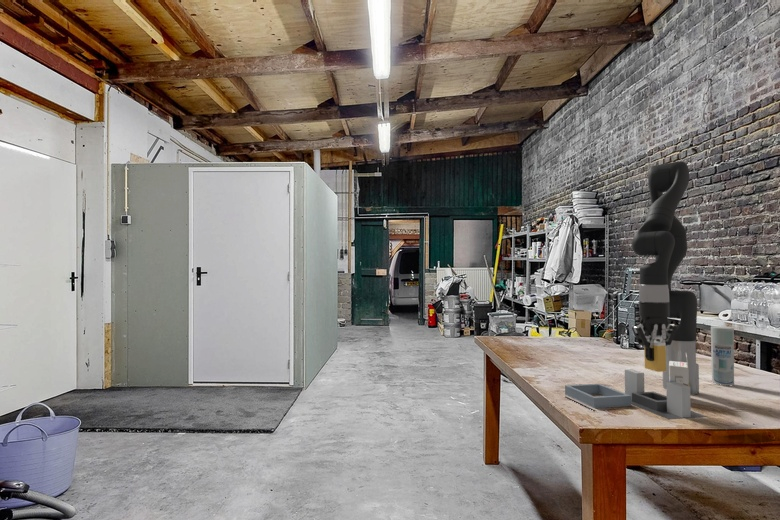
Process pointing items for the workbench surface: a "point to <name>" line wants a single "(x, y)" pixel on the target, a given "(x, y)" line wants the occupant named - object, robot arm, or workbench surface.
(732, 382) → the spray can
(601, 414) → the workbench surface
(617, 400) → the tray
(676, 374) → the ink cartridge box
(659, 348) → the block
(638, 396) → the fuse block
